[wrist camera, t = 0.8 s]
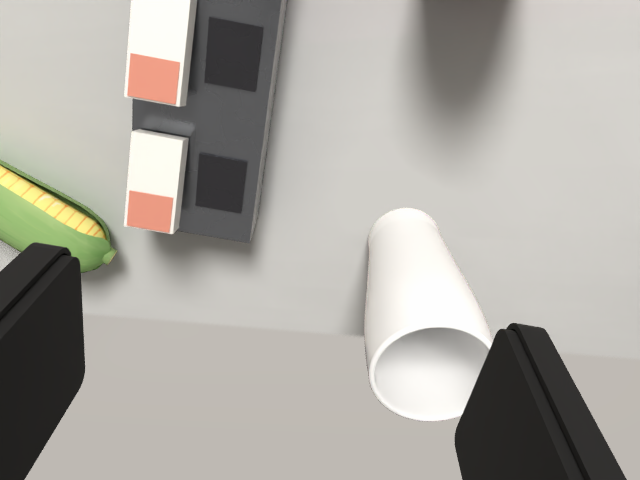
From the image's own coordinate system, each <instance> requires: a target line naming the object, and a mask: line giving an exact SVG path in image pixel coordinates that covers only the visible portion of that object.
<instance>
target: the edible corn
mask: <svg viewBox="0 0 640 480" xmlns="http://www.w3.org/2000/svg"><path fill="white" fill-rule="evenodd" d="M94 216H95V217H96V218H97V219H96V218H95V217H94ZM0 240H2V241H3V242H5V243H7V244H8V245H10V246H11V247H13V248H15V249H17V250H18V251H20V252H22V251H23V250H24V249H26V248H27V247H28V246H29V245H30V244H32V243H34V242H38V243H44V244H50V245H55V246H61V247H67V248H68V249H69V250H70V252H71V256H73V257H77V258H78V259H79V261H80V269H81V273H83V272H87V271H91V270H95V269H97V268H99V267H100V266H101V265H102V264H103V263H104V264H106V265H108V264H109V263H110V262H111V260H112V259H113V257H114V256H115V254H116V253H117V250H115V249H113V248H112V247H111V243H110V237H109V231H108V228H107V227H106V225H105V223H104V222H103V220H102V219H101V218H100V217H99V216H97V215H96V214H95V213H94V212H93V211H91V210H90V209H89V208H88V207H86V206H84V205H82V204H81V203H79V202H77V201H75V200H74V199H72V198H70V197H68V196H67V195H65V194H63V193H61V192H60V191H58V190H56V189H54V188H52V187H50V186H48V185H46V184H44V183H42V182H41V181H39V180H37V179H35V178H33V177H31V176H29V175H27V174H25V173H24V172H22V171H20V170H18V169H16V168H14V167H13V166H11V165H9V164H7V163H5V162H3V161H2V160H0Z"/></svg>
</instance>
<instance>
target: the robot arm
mask: <svg viewBox="0 0 640 480" xmlns="http://www.w3.org/2000/svg"><path fill="white" fill-rule="evenodd" d="M83 335H84V334H83V313H82V291H81V269H80V261H79V259H78V258H77V257H73V256H71V252H70V250H69V249H68V248H67V247H61V246H55V245H50V244H44V243H38V242H34V243H32V244H30V245H29V246H28V247H27V248H26V249H24V250H23V251H22V252H21V253H20V254H19V255H18V256H17V257H16V258H15V259H14V260H13V261H11V262H10V263H9V264H8V265H7V266H6V267H5V268H4V269H3V270H2V271H1V272H0V480H24V479H25V478H26V476H27V474H28V473H29V471H30V469H31V468H32V466H33V465H34V463H35V461H36V460H37V458H38V456H39V455H40V453H41V451H42V450H43V448H44V446H45V445H46V443H47V441H48V440H49V438H50V437H51V435H52V433H53V432H54V430H55V428H56V427H57V425H58V423H59V422H60V420H61V418H62V417H63V415H64V414H65V412H66V410H67V409H68V407H69V405H70V404H71V402H72V400H73V399H74V397H75V395H76V394H77V392H78V390H79V389H80V387H81V384H82V382H83V378H84V373H85V357H84V336H83ZM455 448H456V453H457V457H458V462H459V466H460V470H461V475H462V479H463V480H627V479H626V478H625V476H624V474H623V472H622V470H621V468H620V466H619V465H618V463H617V461H616V459H615V457H614V455H613V453H612V452H611V450H610V448H609V446H608V444H607V442H606V441H605V439H604V437H603V435H602V433H601V431H600V429H599V428H598V426H597V424H596V422H595V420H594V419H593V417H592V415H591V413H590V411H589V409H588V407H587V405H586V404H585V402H584V400H583V398H582V396H581V394H580V392H579V391H578V389H577V387H576V385H575V383H574V382H573V380H572V378H571V376H570V374H569V372H568V371H567V368H566V367H565V365H564V363H563V361H562V359H561V357H560V355H559V354H558V352H557V350H556V348H555V346H554V344H553V342H552V341H551V339H550V337H549V335H548V333H547V332H546V330H545V329H543V328H540V327H534V326H528V325H523V324H517V323H512V324H510V325H509V326H508V327H507V329H500V330H499V331H498V332H497V334H496V336H495V338H494V340H493V343H492V345H491V347H490V350H489V352H488V355H487V357H486V359H485V362H484V364H483V366H482V369H481V371H480V374H479V376H478V378H477V381H476V383H475V385H474V388H473V390H472V392H471V395H470V397H469V400H468V402H467V404H466V407H465V409H464V411H463V414H462V416H461V419H460V421H459V423H458V426H457V428H456V433H455Z"/></svg>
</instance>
